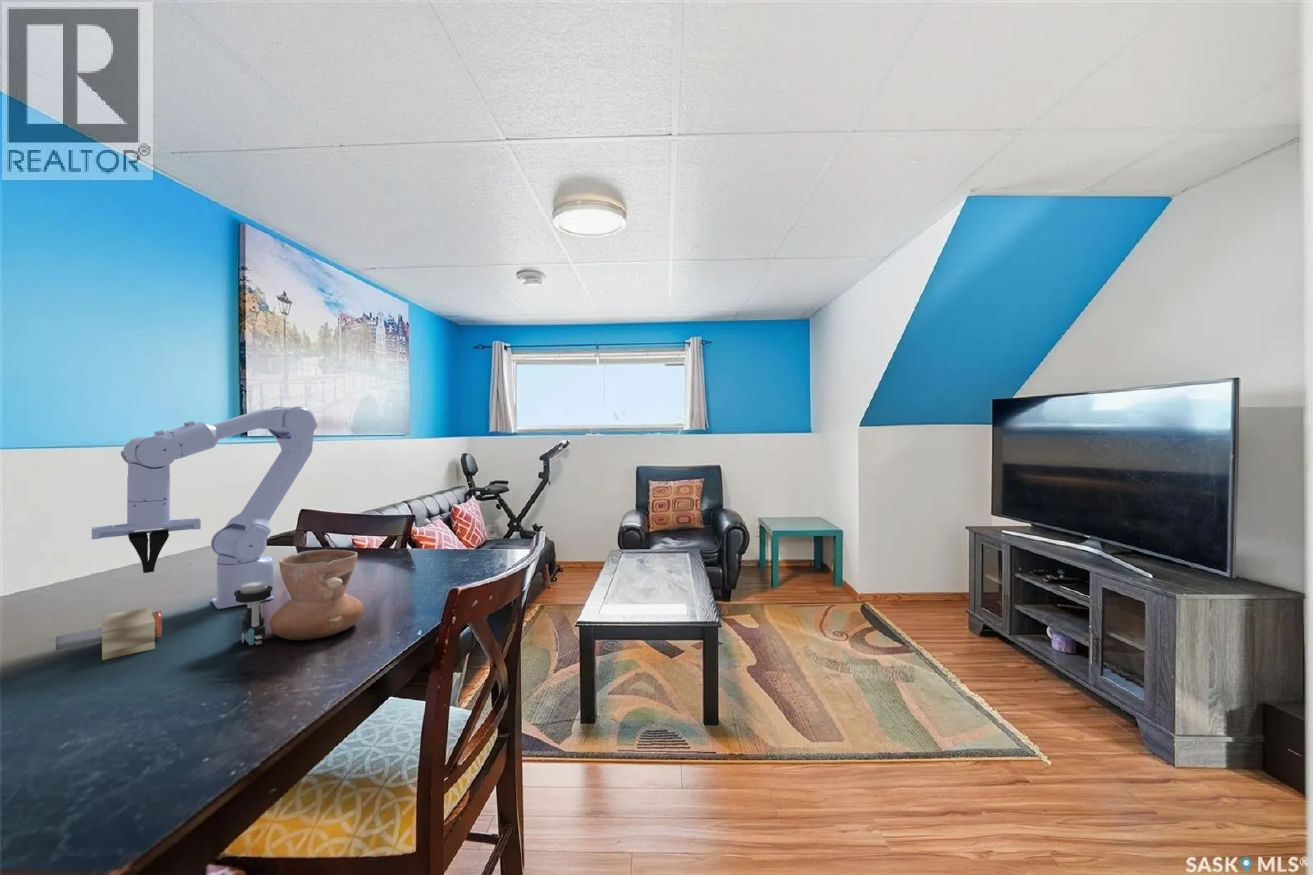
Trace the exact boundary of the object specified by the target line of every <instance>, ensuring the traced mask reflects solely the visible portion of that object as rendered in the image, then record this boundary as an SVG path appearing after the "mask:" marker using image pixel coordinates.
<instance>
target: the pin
mask: <svg viewBox="0 0 1313 875" xmlns="http://www.w3.org/2000/svg"><path fill="white" fill-rule="evenodd" d="M152 613H153V617H154V620H155V638H158V637H162V634H163V617H162V616H163V615H162V611H161V610H157V611H156V610H155V611H152ZM96 643H102V627H100V628H93V629H89V630H83V631H78V632H76V631H75V632H71V633H67V634H61V635H56V636H55V651H61V650H65V649H71V648H77V647H80V646H86V645H92V644H96Z"/></svg>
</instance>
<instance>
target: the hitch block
mask: <svg viewBox="0 0 1313 875" xmlns="http://www.w3.org/2000/svg"><path fill="white" fill-rule="evenodd" d="M101 628H102V642H101V659H102V661H106V660H110V659H113V658H117V657H118V658H119V657H123V656H128V655H132V654H136V653H141V652H146V651H151V650H154V649H156V641H155V640H156V637H155V620H154V617H153V609H152V607H151V606H149V607H142V608H138V609H134V610H133V609H132V610H126V611H121V612H120V611H119V612H116V613H108V614H104V615H101Z"/></svg>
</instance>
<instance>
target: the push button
mask: <svg viewBox="0 0 1313 875" xmlns="http://www.w3.org/2000/svg"><path fill="white" fill-rule="evenodd" d="M272 589H273V590H274V586H273V587H272V586H268V585H266V582H264V581H257V582H250V583H245V584H243V585H241V589H239V590H237V591H235V592H234V595H235V596H236V602H240V603H241V604H244V605H246V606H247V607H246V613H245V614H244V616H245V617H244V618H245V619H244V620H242V622H241V625H242V626H241V627H242V631H243V632H242V633H241V643H243V644H244V643H245V641H246V643H247V644H248V645H249V646H254V645H260V644H261V645H262V644H263V639H265V637H266V627H265V626H264V625H265V617H264V616H262V612H261V604H260V603H262V602H265V601H267V600H266V599H267V598H268V597H270V596H271V591H272Z"/></svg>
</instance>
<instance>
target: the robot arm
mask: <svg viewBox="0 0 1313 875" xmlns="http://www.w3.org/2000/svg"><path fill="white" fill-rule="evenodd" d="M317 428H318V423H317V421H316V417H315V416H314V414H313V412H312V411H311V409H309V408H307V407H305V406H288V407H287V406H286V407H285V406H273V407H271V408H262V409H256V410H254V411H250V412H248V413H244V414H241V415H239V416H236V417H232V418H229V419H225V420H223V421H220V422H217V423H213V424H208V423H205V422H204V421H198V422H196V421H195V420H189V421H186V422H183V426H179V427H176V428H173V429H172V428H171V429H169V430H166V431H164V430H162V429H160V430H156V431H154V435H153V436H137V437H135V438H132V439H130V440H129V441H128V442H127V443H126V444H125V445H124V447H123V449H122V451H120V456H121V458H122V459H123V461H124V462H125V463H126V464H127V481H126V482H127V483H126V484H127V486H126V487H127V488H126V489H127V490H126V493H127V495H126V496H127V497H126V500H127V501H126V502H127V504H126V513H127V514H126V517H127V518H126V521H127V522H126V523H120V524H119V523H118V524H112V525H111V524H110V525H103V526H93V527H91V540H99V539H105V538H113V537H114V538H115V537H123V536H124V537H125V536H127V537H128V540H129V542H130V543H131V545H132V547H133V548H134V549H135V551H136V553H137V556H138V557H139V559H140V562H141V566H142V572H143V573H142V574H149V573H154V572H155V569H156V568H155V567H156V564H157V560H158V557H159V555H160V553H161V550H162V549H163V548H164V545H165V544H166V542H167V540H168V539H169V537H170V533H169V532H177V531H186V530H194V531H195V530H201V527H202V526H201V525H202V524H201V523H202V522H201V521H202V520H201V518H200V517H197V518H196V517H195V518H182V519H181V518H180V519H178V518H177V519H170V517H171V516H170V515H171V514H170V513H171V512H170V511H171V509H170V507H171V504H170V503H171V501H170V500H171V496H170V495H171V493H170V492H171V491H170V490H171V489H170V488H171V485H170V484H171V475H170V470H171V469H170V466H171V464H173V462H174V461H175V460H180V459H183V458H186V457H189V456H193V455H195V454H198V453H200V452H205V451H208V450H210V449H213V448H215V447H216V445H217V444H218V442H219V441H220V440H222V439H225V438H229V437H233V436H236V435H240V434H244V433H246V432H250V431H254V430H258V429H261V430H268V432H269V433H270V434H271V435H272V436H273V437H274V439H275V440H276V441H277V442H278V444H279V447H280V448H281V451H280V453H279V454H278V456H277V457H276V459H275V460H274V462H272V464H271V466H270V468H269V469H268V471H267V473H265V474H264V477H263V479H262V480H261V481H260V483H259V484H258V486H257V488H256V489H255V491H254V492H253V494H252V496H251V497H250V498H249V500H248V501H247V503H246V505H244V508H243V509H242V511H241V512H239V513H238V514H237V515H234V517H232V518H230V519H229V520H228V522H227V523H226V524H225V526H224V527H222V528H221V529H219V530H217V531H216V532H215V534H214V535H213V536H212V538H211V540H210V541H211V542H210V547H211V549H212V551H213V553H215V554H216V555H217V559H216V597H213V598H211V602H212V604H213V605H214V606H215V609H217V610H221V609H222V610H223V609H227V608H232V607H239V606H242V605H245V604H241V603H240V602H236V596H235V595H234V592H235V591H237V590H239V589H241V585H243V584H245V583H250V582H257V581H264V582H266V585H268V586H272V587H273V589H272V591H271V596H270V597H268V598H267V599H266V600H265V601H270V600H274V597H275V596H274V562H273V559H272V557H271V556H268V555H267V556H261V555H263V554H264V552H265V551H266V548H267V544H268V543H267V542H268V537H269V535H270V534H271V532H272V528H271V525H270V521H271V518H272V517H273V515H274V514H275V513H276V511H277V509H278V507H279V506H280V504H281V502H282V501H283V500H284V498H285V496H286V494H287V493H288V491H289V490H290V488H291V487H292V484H294V482H295V481H296V479H297V477H298V475H299V474H300V472H301V470H302V469H303V467H304V465H305V464H306V462H307V461H308V459H309V457H310V456H311V454H312V452H313V444H314V432H315V431H316V429H317ZM148 536H149V537H148Z"/></svg>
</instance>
